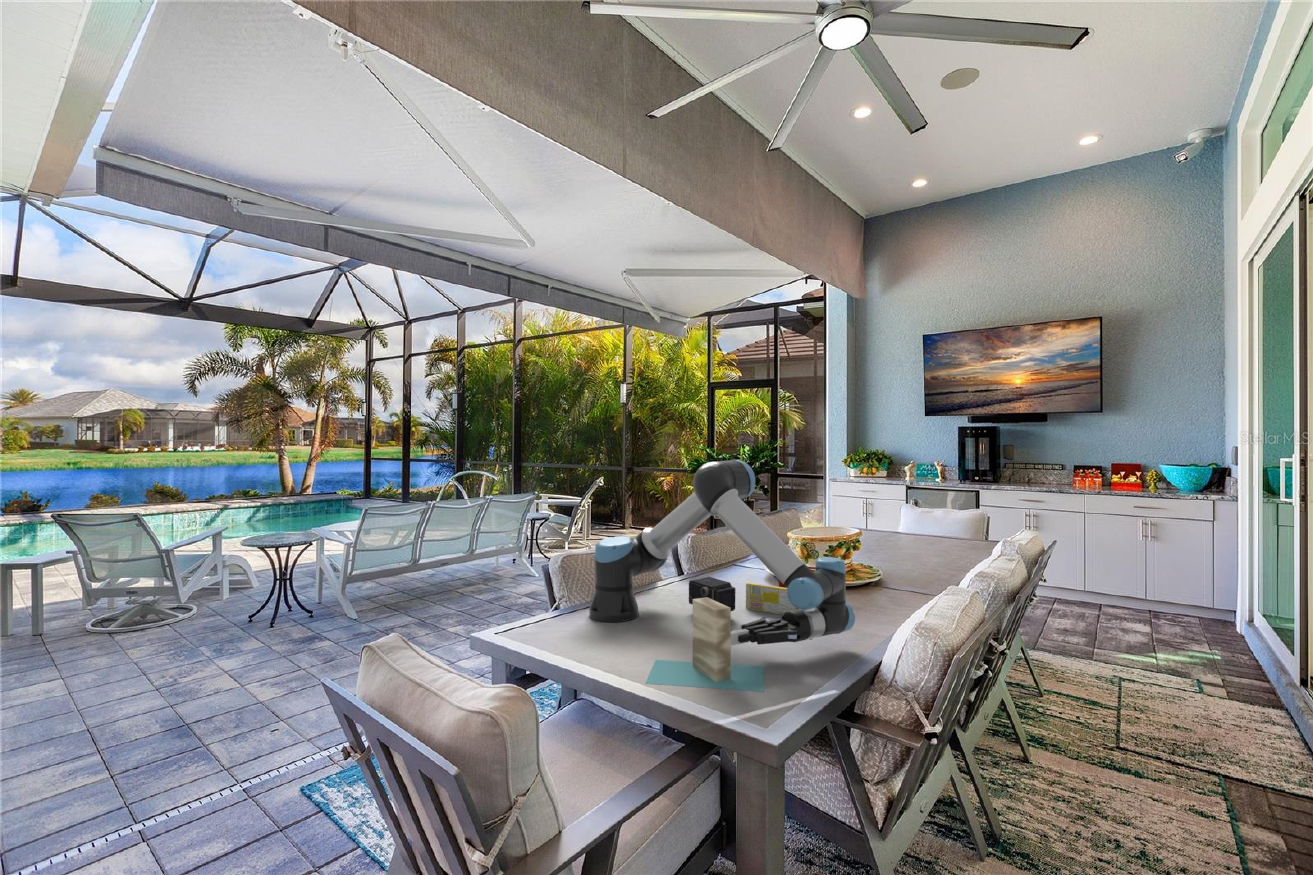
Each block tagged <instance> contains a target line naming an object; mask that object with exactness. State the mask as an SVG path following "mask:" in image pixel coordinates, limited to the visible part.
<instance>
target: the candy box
mask: <svg viewBox="0 0 1313 875" xmlns="http://www.w3.org/2000/svg"><path fill="white" fill-rule="evenodd" d="M750 609H753V610H752V611H756V610H759V612H762V611H763V612H764V613H770V614H774V615H780V614H781V616H783V614H784V613H785V612H787V611H792V610H797V608H796V607H795V606H793V605H792V604H791V602H790V601H789V598H788V595H787V588H783V587H779V586H775V585H766V584H759V583H752V582H747V583H745V610H750Z"/></svg>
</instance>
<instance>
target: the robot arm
mask: <svg viewBox="0 0 1313 875" xmlns="http://www.w3.org/2000/svg"><path fill="white" fill-rule="evenodd" d="M755 476H756V475H755V472H754V470H753V469H752V467H751V466H750V465H749V464H748V463H747V462H744V461H743V460H737V459H730V460H721V461H720V460H718V461H708V462H706V463H703V464H702V465H701V466H700V467H699V468H698V469H697V470H696V472H695V473H694V476H693V482H692V486H693V488H692V489H693V491H694V492H693V493H692V494H690V495H689V496H688V497H687V498H686V499H685V500H683V501H682V502H681V503H680V504H678V506H676V508H674V509H673V510H672V511H671V512H670V513H669V514H667V515H666V516H665V517H664V518H663V519H661V520H660V522H658V523H657V524H656V525H655V526H653V527H646V528H644V529H643V530H642V531H641V532H640V533H639V534H638V535H636V536H634V537H633V538H631V537H628V536H618V535H617V536H614V537H613V536H609V537H606V538H603V539H601V540H599V541H598V542H597V543H596V545H595V548H594V549H595V550H594V556H593V557H594V558H593V559H594V593H593V596H592V599H591V602H590V605H589V611H588V613H589V618H591V619H592V620H595V621H598V622H607V623H619V622H621V623H622V622H625V621H626V622H628V621H631V620H633V619H635V618H637V617H638V616H639V606H638V602H637V600H636V596H635V594H634V589H633V588H634V586H633V582H634V579H633V577H636V576H640V575H642V574H647V573H651V572H655V571H657V570H659V569H661V568H662V567H663V566H664V565H665V564H666V562H667V560H668V557H669V556H670V555H671V552H672V551H671V549H673V547H675V546H676V545H677V544H678V543H679V542H680V541H682V540H683V539H684V538H685V537H686V536H688V535H689V534H690V533H692V532H693V531H694V530H695V529H697V527H699V526H700V525H701V524H702V523H704V522H705V521H706V520H708V518H710V517H711V516H712V517H718V518H719V519H720V520H721V521H722V522H723V523H724V524H725V525H726V526H727V527H728V528H729V530H730V531H732V532H733V534H734V535H736V537H737V538H739V540H740V541H741V542H742V543H743V545H744V544H745V546H746V547H747V549H749V550H750V551H751V552H752V553H753V555H754V556H756V558H758V560H760V561H761V563H762V564H763V565H765V567H766V568H767V569H768V570H769V571H770V572H771V574H773V575H774V576H775V577H776V578H777V580H778V579H779V580H780V581H781V582H782V583H783V584H784V586H785V587H786V588H787V595H788V598H789V601H790V602H791V604H792V605H793V606H795V607H796V610H792V611H787V612H785V613H784V614H783V615H781V617H780V618H779V617H778V618H774V619H771V620H768V619H767V617H766V616H763V617H760V618H759V619H757V620H754V621H751V622H747V623H745V624H741V625H740V629H738V630H733V631H731V646H735V645H741V644H745V643H749V642H750V643H752V644H753V643H756V644H757V645H768V644H777V643H798V642H803V641H806V640H810V641H812V640H813V639H815V638H820V637H824V636H825V637H826V636H829V635H830V636H831V635H839V634H842V633H844V632H847V631H849V630H851V629H852V628H853V627H854V625H855V622H856V614H855V613H854V609H853V608H852V606H851V605H850V604H849V603H848V602H846V590H847V589H846V580H847V578H846V577H847V572H846V571H847V570H846V562H845V561H844V560H843V559H842V558H838V557H830V556H823V557H821V556H820V557H817V559H816V560H815V567H814V570H812V569H811V568H809V566H807V564H806V563H805V562H804V561H803V560H802V559H801V558H800V557H799V556H798V555H797V554H796V553H795V552H794V551H793V550H792V549H791V548H790V547H789V546H788V545H787V544H786V543H785V542H784V541H783V540H782V539H781V538H780V537H779V536H778V535H777V534H776V533H775V532H774V531H773V530H772V529H771V528H770V527H769V526H768V525H767V524H766V522H764V521H763V520H762V519H761V518H760V516H758V515H757V513H755V512H754V511H753V510H752V509H751V508H750V507H749V506H748V505H747V503H745V502H744V501H743V500H744V499H746V498H748V497H749V496H751V495H752V493H753V492H754V491H755V487H756V477H755Z"/></svg>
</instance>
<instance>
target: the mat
mask: <svg viewBox="0 0 1313 875" xmlns="http://www.w3.org/2000/svg"><path fill="white" fill-rule="evenodd" d="M653 662H654V663H653V664H652V667H651V670H650V672H649V674H648V676H647V678H646V680H645V685H646V684H647V685H659V686H660V685H661V686H663V685H664V686H676V687H686V688H687V687H690V688H705V689H720V690H721V689H723V690H733V691H735V690H736V691H745V692H746V691H749V692H760V693H761V692H762V693H763V692H764V693H765V677H764V676H765V672H764V666H763V665H750V664H749V665H748V664H746V665H745V664H744V665H743V664H733V663H731V678H730V679H726V680H722V681H718V682H715V681H714V680H712V679H711V678H709V677H708V676H706V675H705V674H703V673H702V672H700V671H699V670H697V669H696V668H694V667H693V661H683V660H666V659H655V660H654V661H653Z"/></svg>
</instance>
